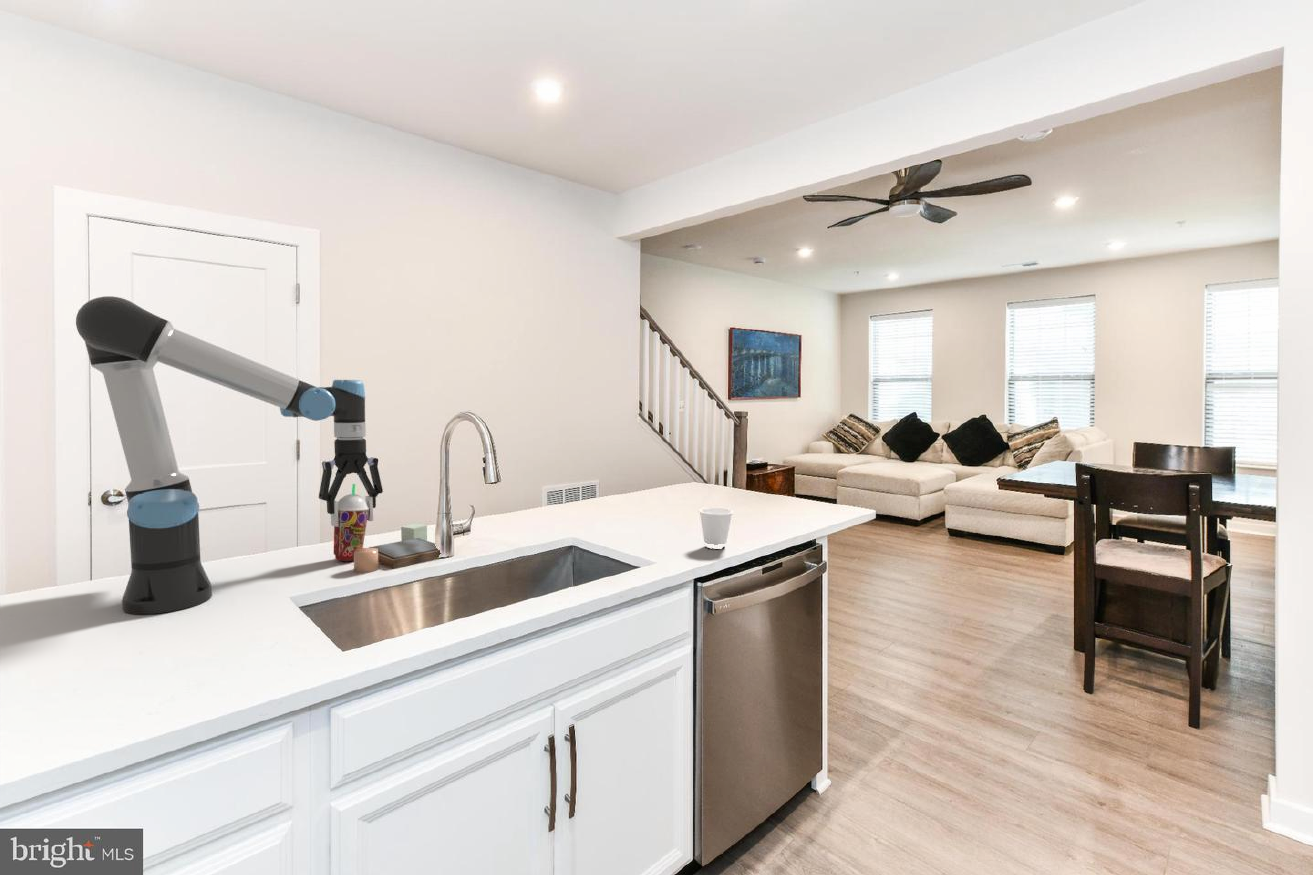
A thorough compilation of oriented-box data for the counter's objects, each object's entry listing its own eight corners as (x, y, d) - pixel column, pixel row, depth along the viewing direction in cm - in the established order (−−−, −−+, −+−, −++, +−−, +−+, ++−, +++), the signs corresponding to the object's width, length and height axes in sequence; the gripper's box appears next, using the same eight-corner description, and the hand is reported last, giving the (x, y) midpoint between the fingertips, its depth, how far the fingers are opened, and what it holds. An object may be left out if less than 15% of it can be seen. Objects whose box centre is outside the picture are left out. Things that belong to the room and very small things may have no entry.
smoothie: (354, 563, 163) (361, 486, 164) (323, 560, 164) (330, 483, 164) (370, 557, 172) (376, 484, 172) (340, 554, 172) (346, 481, 172)
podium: (393, 568, 161) (393, 558, 161) (364, 556, 171) (364, 547, 171) (449, 556, 173) (449, 547, 173) (419, 545, 183) (419, 536, 183)
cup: (692, 545, 189) (693, 508, 188) (720, 541, 193) (721, 506, 192) (708, 553, 180) (709, 515, 179) (738, 549, 184) (739, 512, 184)
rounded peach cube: (360, 574, 156) (359, 555, 155) (350, 570, 159) (349, 550, 159) (382, 569, 160) (382, 550, 160) (372, 565, 164) (371, 546, 163)
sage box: (413, 545, 184) (413, 528, 184) (401, 543, 186) (401, 526, 186) (427, 541, 188) (426, 525, 188) (414, 539, 191) (414, 523, 190)
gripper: (313, 441, 156) (316, 531, 158) (396, 437, 172) (397, 518, 174) (301, 439, 161) (304, 527, 163) (382, 435, 177) (384, 514, 179)
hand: (352, 522), depth 168 cm, fingers closed on smoothie, 8 cm apart
